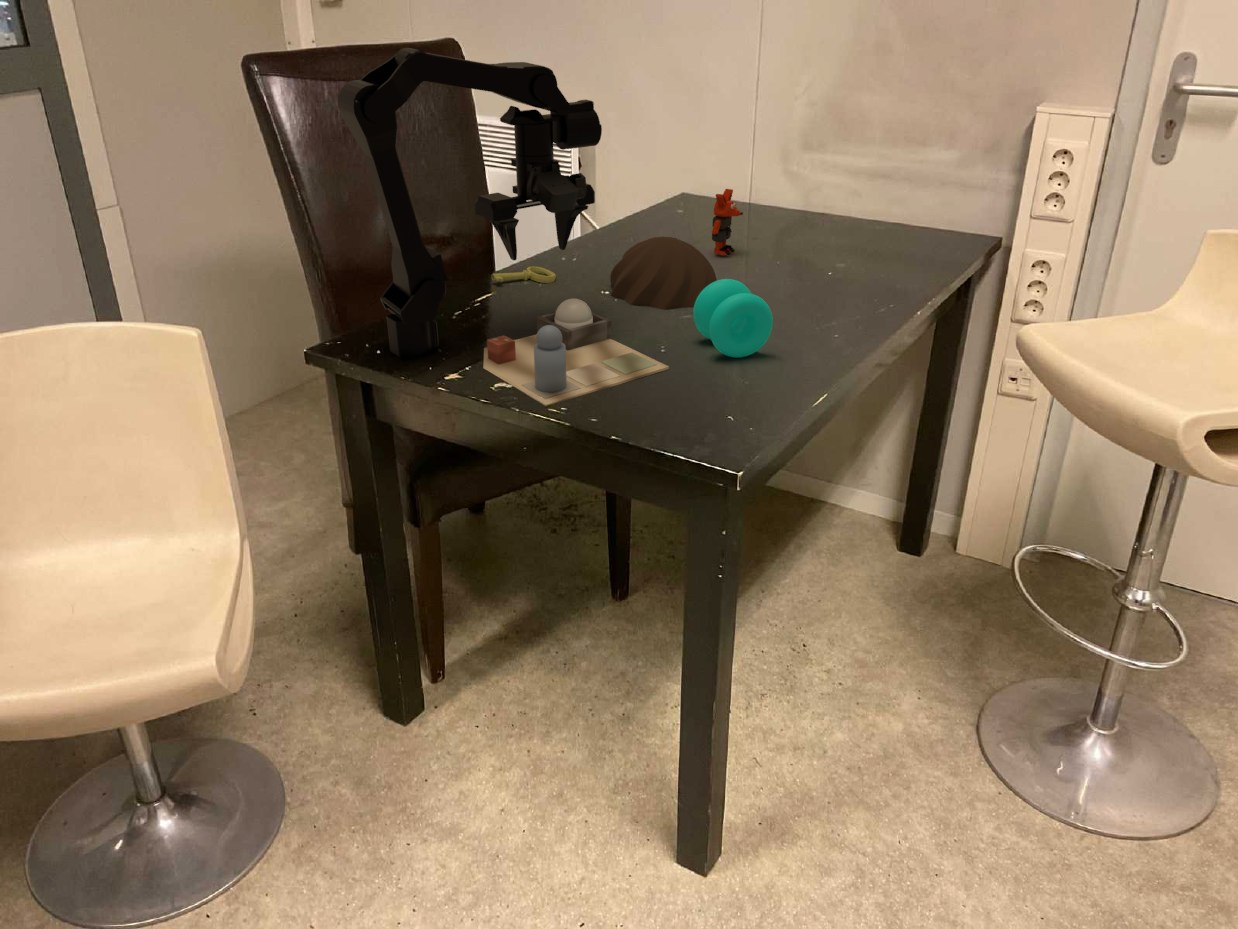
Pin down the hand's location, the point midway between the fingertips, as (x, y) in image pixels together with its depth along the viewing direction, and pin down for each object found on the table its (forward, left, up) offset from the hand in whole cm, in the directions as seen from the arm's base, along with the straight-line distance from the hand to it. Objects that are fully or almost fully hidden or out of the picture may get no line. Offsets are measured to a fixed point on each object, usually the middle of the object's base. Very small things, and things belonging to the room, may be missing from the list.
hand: (538, 254), depth 158 cm
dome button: (+1, -8, -11) cm, 14 cm away
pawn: (-13, -22, -12) cm, 28 cm away
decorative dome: (+28, +2, -12) cm, 31 cm away
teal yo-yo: (+18, -26, -12) cm, 34 cm away
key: (+7, +18, -12) cm, 23 cm away
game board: (-6, -15, -12) cm, 20 cm away
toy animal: (+53, +12, -12) cm, 56 cm away
